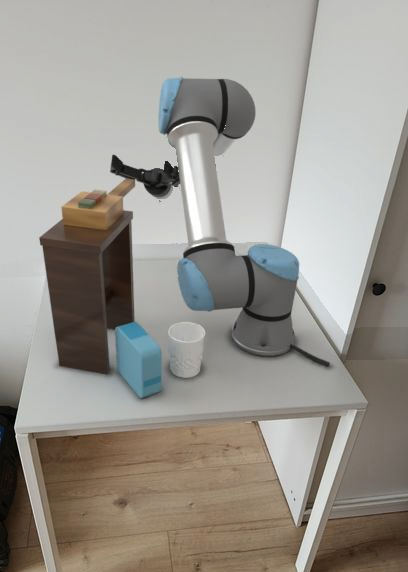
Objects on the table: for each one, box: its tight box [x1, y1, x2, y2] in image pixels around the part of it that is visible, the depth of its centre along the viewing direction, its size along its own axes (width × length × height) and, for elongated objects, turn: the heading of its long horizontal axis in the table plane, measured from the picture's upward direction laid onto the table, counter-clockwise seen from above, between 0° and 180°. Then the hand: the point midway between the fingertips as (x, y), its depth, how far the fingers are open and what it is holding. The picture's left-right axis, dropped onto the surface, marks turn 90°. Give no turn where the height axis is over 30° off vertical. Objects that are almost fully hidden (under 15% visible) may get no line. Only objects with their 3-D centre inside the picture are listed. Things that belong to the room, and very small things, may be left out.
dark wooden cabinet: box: [38, 209, 136, 375], centre depth 109 cm, size 19×12×30 cm, turn 168°
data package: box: [114, 321, 162, 399], centre depth 104 cm, size 12×4×12 cm, turn 34°
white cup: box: [167, 321, 206, 379], centre depth 109 cm, size 8×8×10 cm
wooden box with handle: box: [60, 178, 136, 230], centre depth 108 cm, size 28×9×5 cm, turn 168°
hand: (139, 163), depth 124 cm, fingers open, 13 cm apart
